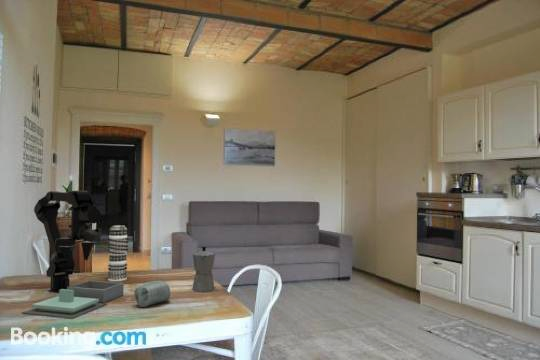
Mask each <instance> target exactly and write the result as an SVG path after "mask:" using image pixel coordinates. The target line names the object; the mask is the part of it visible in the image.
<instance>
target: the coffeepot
mask: <svg viewBox="0 0 540 360" xmlns="http://www.w3.org/2000/svg"><path fill="white" fill-rule="evenodd" d="M206 248H207V247H206V246H201V249H202V250H200V251H198V252H195V253H193V254H192V260H193V267H194V270H195V274H194V277H193V283H192V288H191V289H192V291H193V292H197V293H208V292H212V291H214V290H215V282H214V276H213V272H212V271H213V269H214V264H215V258H216V257H215V256H216V253H214V252H212V251H206Z"/></svg>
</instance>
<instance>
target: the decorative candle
mask: <svg viewBox="0 0 540 360" xmlns="http://www.w3.org/2000/svg"><path fill="white" fill-rule="evenodd" d="M107 240H108V241H107V245H108V246H107V248H108V249H107V252H108V253H107V255H108V256H109V257H108V258H109V259H108V265H107V270H108V271H107V282H121V281H123V282H124V281H127V279H128V270H127V269H128V267H127V266H128V263H127V261H128V259H127V255H128V252H127V251H129V245H127V244H128V243H129V241H128V240H130V238H129V237H128V228H127V227H126V226H125V225H123V224H121V225H120V224H115V225H112V226H111V227H110V228H109V236H108V237H107Z"/></svg>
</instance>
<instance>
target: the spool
mask: <svg viewBox="0 0 540 360" xmlns="http://www.w3.org/2000/svg"><path fill="white" fill-rule="evenodd" d="M170 299H171V288H170V285H169V284H168V283H167V282H166V281H164V280H153V281H149V282H146V283H143V284H139V285H138V286H136V288H135V289H134V300H135V302H136V304H137V305H138V307H140V308H146V307H148V306H151V305H155V304H156V305H157V304H160V303H164V302H167V301H169V300H170Z"/></svg>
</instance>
